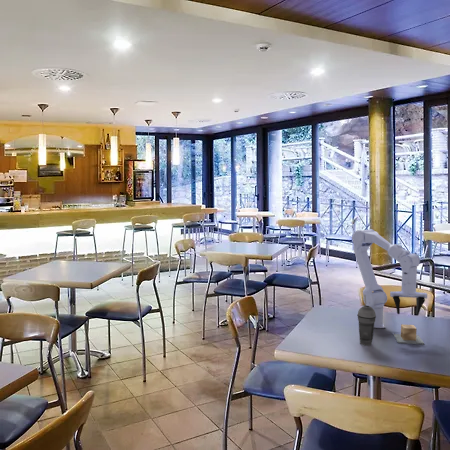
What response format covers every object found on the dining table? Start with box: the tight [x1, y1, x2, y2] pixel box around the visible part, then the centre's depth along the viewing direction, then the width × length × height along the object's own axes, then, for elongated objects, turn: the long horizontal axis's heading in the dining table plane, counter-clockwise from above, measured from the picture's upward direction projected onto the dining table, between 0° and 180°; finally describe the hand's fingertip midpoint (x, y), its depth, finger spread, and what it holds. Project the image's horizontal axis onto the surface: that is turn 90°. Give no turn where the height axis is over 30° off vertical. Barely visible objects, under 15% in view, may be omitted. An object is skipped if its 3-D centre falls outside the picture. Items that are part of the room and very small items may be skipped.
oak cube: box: [400, 324, 417, 341], centre depth 194 cm, size 5×5×5 cm
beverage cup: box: [357, 295, 376, 347], centre depth 188 cm, size 7×7×20 cm
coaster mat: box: [393, 333, 425, 346], centre depth 194 cm, size 10×10×1 cm
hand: (407, 314), depth 198 cm, fingers open, 7 cm apart
